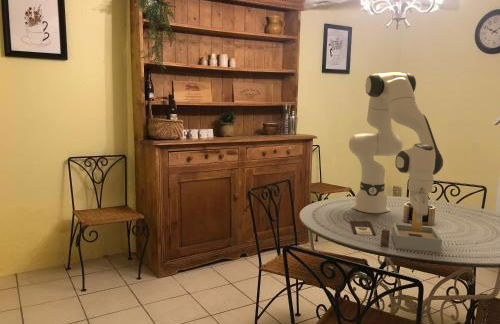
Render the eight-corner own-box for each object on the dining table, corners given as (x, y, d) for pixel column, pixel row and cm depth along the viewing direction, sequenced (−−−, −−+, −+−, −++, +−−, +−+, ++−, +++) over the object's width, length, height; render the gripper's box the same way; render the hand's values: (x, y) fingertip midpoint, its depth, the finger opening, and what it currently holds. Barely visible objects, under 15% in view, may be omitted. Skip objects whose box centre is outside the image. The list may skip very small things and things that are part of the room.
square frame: (391, 234, 175) (392, 223, 174) (432, 238, 172) (433, 227, 171) (395, 248, 160) (396, 235, 159) (440, 252, 156) (442, 239, 155)
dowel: (410, 228, 167) (412, 204, 165) (420, 229, 166) (422, 205, 164) (412, 231, 163) (414, 206, 162) (421, 232, 162) (424, 207, 161)
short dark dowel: (380, 243, 164) (381, 228, 163) (388, 244, 164) (389, 229, 163) (380, 246, 162) (382, 231, 161) (388, 246, 161) (390, 231, 160)
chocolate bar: (369, 221, 191) (375, 234, 173) (369, 223, 191) (375, 236, 173) (349, 220, 192) (353, 233, 175) (349, 222, 192) (353, 235, 175)
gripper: (434, 192, 151) (430, 228, 153) (424, 181, 171) (421, 214, 173) (415, 190, 153) (412, 227, 155) (408, 180, 172) (405, 213, 174)
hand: (417, 220), depth 164 cm, fingers closed on dowel, 4 cm apart
